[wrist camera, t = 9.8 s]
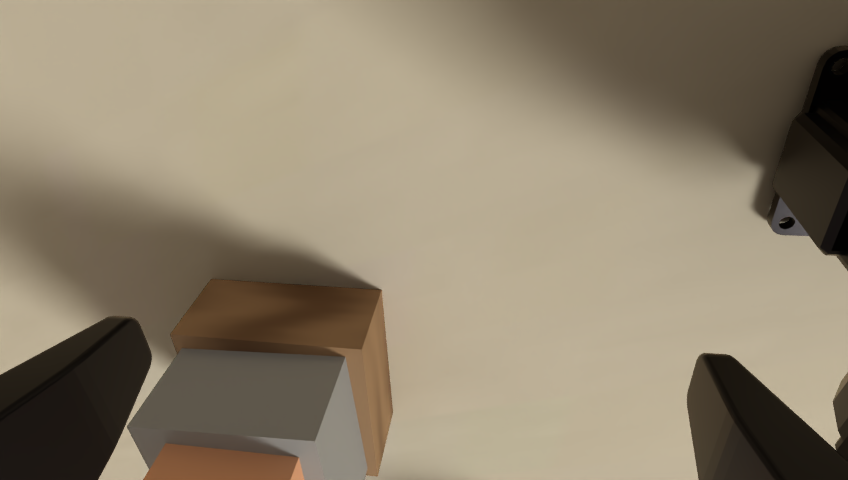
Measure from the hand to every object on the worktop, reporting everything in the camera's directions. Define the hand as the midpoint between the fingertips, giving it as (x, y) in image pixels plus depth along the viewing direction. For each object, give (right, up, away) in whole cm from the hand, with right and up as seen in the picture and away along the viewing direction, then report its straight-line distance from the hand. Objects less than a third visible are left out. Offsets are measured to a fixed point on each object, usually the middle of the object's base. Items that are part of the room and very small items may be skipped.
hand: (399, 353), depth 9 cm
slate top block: (-6, -6, +16) cm, 18 cm away
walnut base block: (-5, -3, +19) cm, 20 cm away
